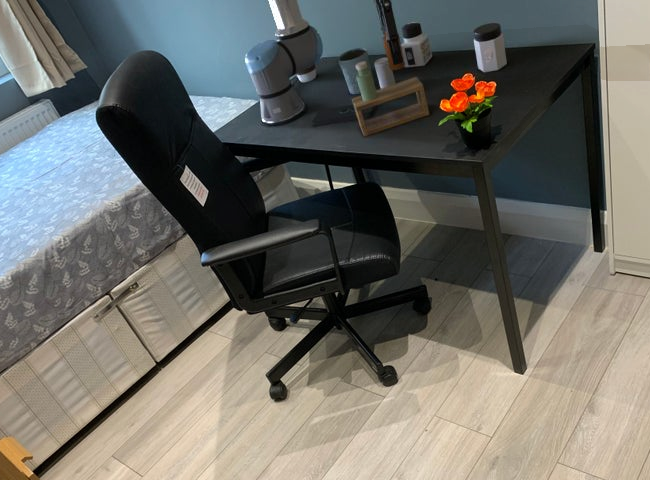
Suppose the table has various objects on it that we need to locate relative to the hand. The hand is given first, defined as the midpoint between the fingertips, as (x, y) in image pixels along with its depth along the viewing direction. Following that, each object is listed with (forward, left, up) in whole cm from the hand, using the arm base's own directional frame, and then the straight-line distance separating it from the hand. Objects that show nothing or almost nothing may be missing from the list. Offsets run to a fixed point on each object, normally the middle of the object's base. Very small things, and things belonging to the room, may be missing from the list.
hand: (396, 60), depth 177 cm
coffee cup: (-63, -25, -17) cm, 70 cm away
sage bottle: (0, -10, -8) cm, 12 cm away
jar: (-15, +31, -17) cm, 39 cm away
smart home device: (-16, -18, -17) cm, 29 cm away
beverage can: (-18, -2, -17) cm, 25 cm away
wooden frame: (0, -5, -17) cm, 17 cm away
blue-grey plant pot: (-34, -9, -17) cm, 39 cm away
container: (-41, +13, -17) cm, 47 cm away
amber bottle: (0, 0, -2) cm, 2 cm away
